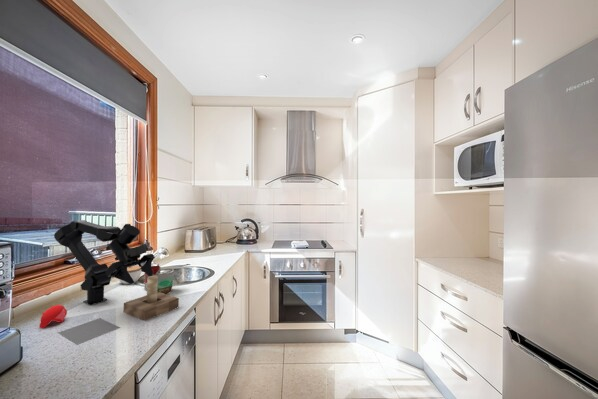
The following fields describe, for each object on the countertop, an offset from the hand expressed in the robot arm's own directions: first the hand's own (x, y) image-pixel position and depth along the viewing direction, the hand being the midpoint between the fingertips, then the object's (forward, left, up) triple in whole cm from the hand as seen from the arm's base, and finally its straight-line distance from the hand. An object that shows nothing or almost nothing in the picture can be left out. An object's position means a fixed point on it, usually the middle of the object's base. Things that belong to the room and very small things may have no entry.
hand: (143, 280), depth 102 cm
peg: (+4, +1, -12) cm, 13 cm away
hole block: (+4, +1, -12) cm, 13 cm away
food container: (-9, +15, -12) cm, 21 cm away
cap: (-15, -23, -12) cm, 30 cm away
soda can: (-20, +16, -12) cm, 28 cm away
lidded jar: (-39, +15, -12) cm, 43 cm away
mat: (+2, -19, -12) cm, 22 cm away
